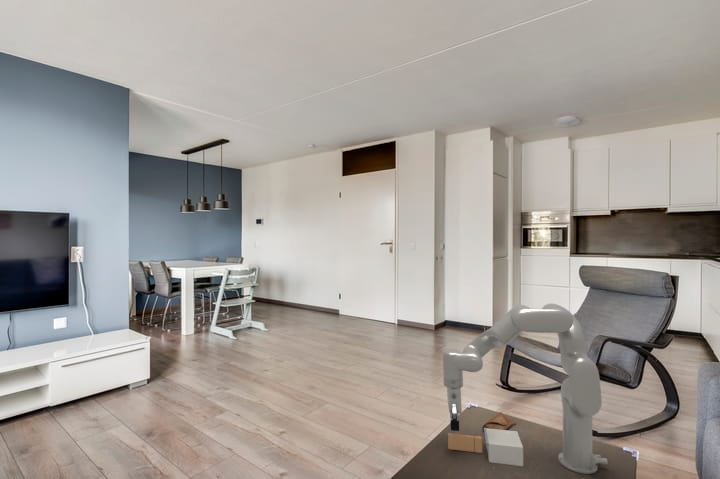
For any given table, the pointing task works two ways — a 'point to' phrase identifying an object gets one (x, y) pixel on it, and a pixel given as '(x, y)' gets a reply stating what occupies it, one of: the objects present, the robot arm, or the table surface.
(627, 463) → the table surface
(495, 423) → the sunglasses case
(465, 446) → the tan banded plank
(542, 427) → the table surface
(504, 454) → the white box
